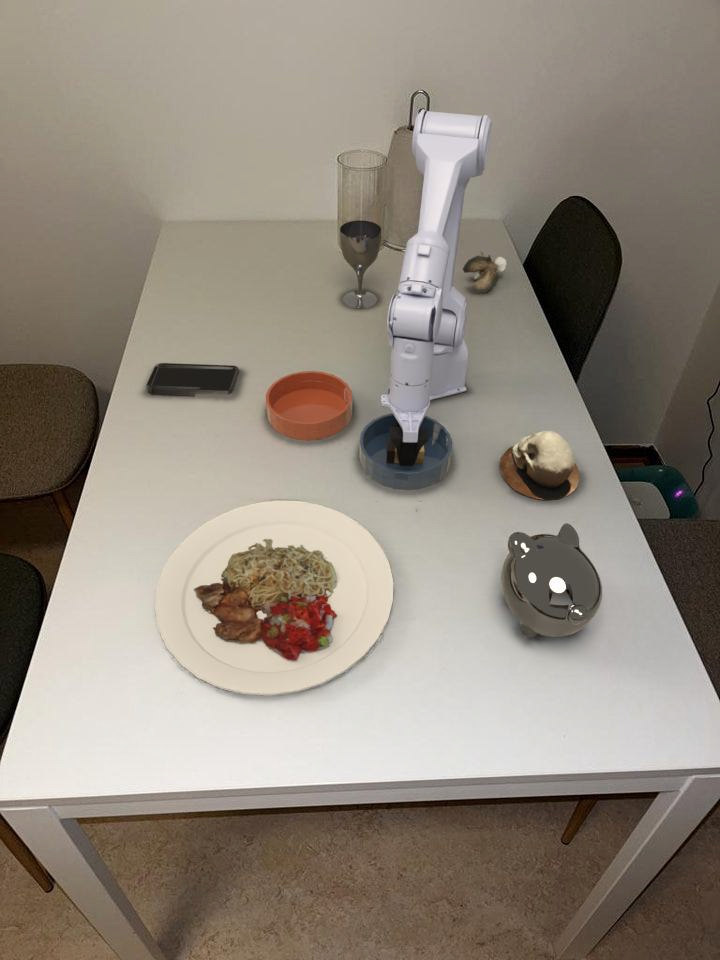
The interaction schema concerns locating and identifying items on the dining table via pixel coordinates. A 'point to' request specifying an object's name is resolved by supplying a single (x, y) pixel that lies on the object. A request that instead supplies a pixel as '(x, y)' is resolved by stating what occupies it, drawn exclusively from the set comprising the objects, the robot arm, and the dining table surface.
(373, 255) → the wine glass
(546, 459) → the skull
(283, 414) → the terracotta bowl
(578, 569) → the piggy bank
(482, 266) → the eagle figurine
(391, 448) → the tan block dark cap
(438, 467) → the slate bowl
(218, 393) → the phone
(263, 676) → the plated food
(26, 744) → the dining table surface
